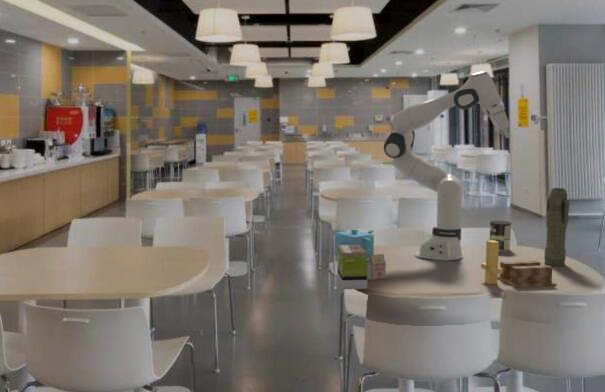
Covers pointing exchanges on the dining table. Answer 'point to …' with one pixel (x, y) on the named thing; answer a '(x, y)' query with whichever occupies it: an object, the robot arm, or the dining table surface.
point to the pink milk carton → (376, 267)
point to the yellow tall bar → (491, 262)
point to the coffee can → (501, 234)
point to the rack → (526, 274)
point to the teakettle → (355, 240)
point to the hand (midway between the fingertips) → (505, 135)
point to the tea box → (352, 266)
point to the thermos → (556, 227)
